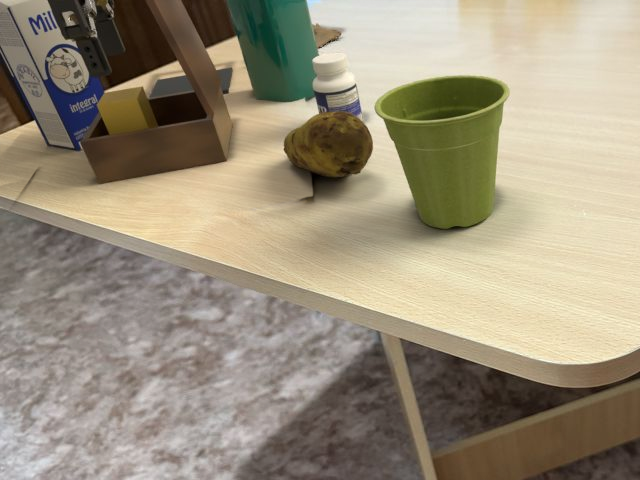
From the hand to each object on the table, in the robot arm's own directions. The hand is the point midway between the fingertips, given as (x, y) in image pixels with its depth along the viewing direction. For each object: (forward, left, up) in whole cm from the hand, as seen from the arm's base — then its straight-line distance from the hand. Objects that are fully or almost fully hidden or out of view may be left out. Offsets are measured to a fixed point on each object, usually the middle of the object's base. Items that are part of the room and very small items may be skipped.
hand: (109, 64), depth 78 cm
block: (0, 0, -11) cm, 11 cm away
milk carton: (-10, +11, -12) cm, 19 cm away
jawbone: (+17, +43, -12) cm, 48 cm away
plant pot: (+33, -28, -12) cm, 45 cm away
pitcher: (+17, +17, -12) cm, 27 cm away
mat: (+2, +29, -12) cm, 31 cm away
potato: (+22, -15, -12) cm, 29 cm away
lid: (+8, 0, +2) cm, 9 cm away
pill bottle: (+24, -1, -12) cm, 27 cm away
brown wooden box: (+3, 0, -12) cm, 12 cm away
